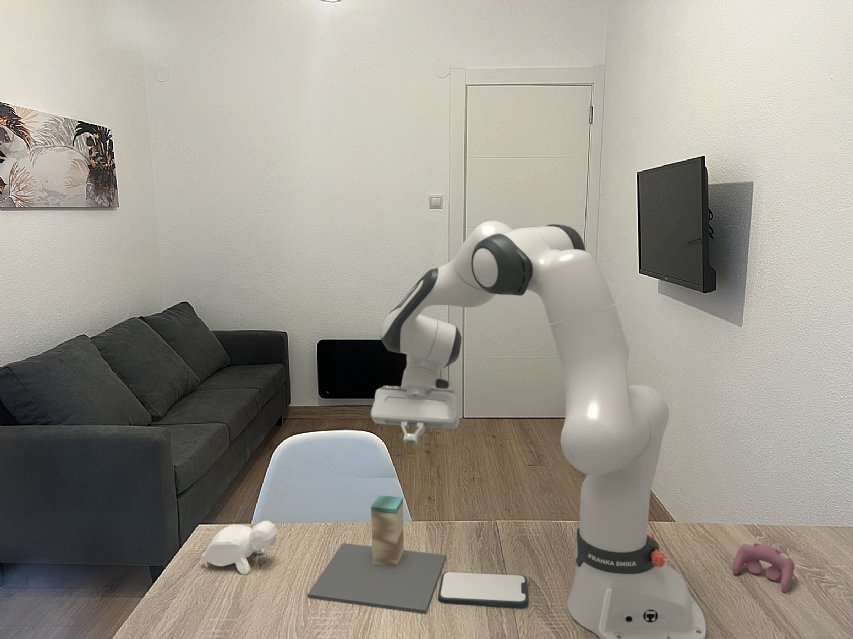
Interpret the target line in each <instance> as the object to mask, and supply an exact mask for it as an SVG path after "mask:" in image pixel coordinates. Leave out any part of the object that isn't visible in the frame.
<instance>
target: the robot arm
mask: <svg viewBox="0 0 853 639" xmlns="http://www.w3.org/2000/svg"><path fill="white" fill-rule="evenodd" d="M527 291H529V292H530V291H531V292H533V293H534V294H535V293H536V294H537V295H538V296H539V298H540V299H541V301H542V303H543V306H544V309H545V312H546V315H547V316H546V317H547V320H548V323H549V326H550V329H551V333H552V336H553V340H554V344H555V346H556V350H557V352H558V355H559V356H558V357H559V360H560V362H561V368H562V374H563V382H564V396H565V397H564V398H565V419H564V423H563V427H562V430H561V434H560V446H561V450H562V453H563V455H564V457H565V459H566V460H567V461H568V463H569V464H570V465H571V467H573V468H574V469H575V470H577V471H578V472H580V473H582V474H585V475H586V476H585V478H584V480H583V482H582V484H581V487H580V505H579V506H580V508H579V527H577V530H576V536H575V547H574V548H575V550H574V551H575V552H574V553H575V554H574V558H575V564H576V569H575V574H574V578H573V581H572V582H573V583H572V587H571V589H570V593H569V595H568V598H567V601H566V604H567V605H566V607H567V611H568V612H569V614H570V616H571V617H572V618H573V619H574V620H575V621H576V622H577V623H578V624H579V625H581V626H582V627H584V628H585V629H587V630H589V631H591V632H592V633H594V634H595V635H597V636H598V637H599V639H706V638H707V637H706V636H707V627H706V626H707V625H706V620H705V616H704V614H703V611H702V609H701V607H700V606H699V604H698V603H697V601H696V600H695V599H694V598H693V597H692V596H691V593H690V590H689V587H688V585H687V584H686V581H685V579H684V578H683V576H682V575H681V573H679V572H678V571H677V570H676V569H674V568H673V567H671V566H670V565H669V564H668V563H666V560H665V558H664V556H665V555H664V553H663V552H662V551H661V550H660V546H659V545H660V544H659V543H658V542H657V540H656V538H655V536H654V534H653V533H651V536H649V535H648V527H649V513H650V512H649V511H650V510H649V509H650V499H651V493H652V488H653V487H652V486H653V483H654V479H655V474H656V471H657V466H658V462H659V457H660V453H661V447H662V442H663V437H664V434H665V431H666V428H667V425H668V423H669V419H670V411H669V407H668V403H667V402H666V401H667V400H665V398H664V396H662V394H661V393H659V391H657V390H656V389H654V388H652V387H650V386H648V385H643V384H632V385H629V383H628V361H629V360H628V359H629V355H630V354H629V353H630V350H629V344H628V341H627V339H626V335H625V332H624V329H623V326H622V323H621V320H620V316H619V314H618V311H617V308H616V305H615V301H614V298H613V296H612V293H611V291H610V289H609V286H608V284H607V281H606V279H605V277H604V274H603V273H602V270H601V269H600V267H599V266H598V263H597V261H596V260H595V258H594V256H592V255H591V254H590V252H588V251H586V247H585V243H584V241H583V239H582V236H581V235H580V234H579V232H578V231H577V230H576V229H574V228H573V227H571V226H568V225H565V224H554V223H553V224H547V225H543V226H533V227H531V226H530V227H519V228H516V229H513V228H512V227H510V226H509V225H507V224H506V223H504V222H502V221H498V220H488V221H484V222H482V223H480V224H478V225H477V226H476V227H475V228H474V229H473V230H472V232H471V233H470V234H469V235H468V236H467V237H466V239H465V240H464V241H463V242H462V244H461V246H460V247H459V249H458V250H457V252H456V254H455V256H454V257H453V258H452V260H450V261H448V262H447V263H446V264H444V265H441V266H439V267H436V268H431V269H429V270H428V271H427V272H425V273H424V274H423V276H421V278H420V279H419V280H418V281H417V282H416V283H415V284H414V286H413V287H412V288H411V289H410V290H409V291H408V293H407V294H406V295H405V296H404V298H402V300H401V301H400V302H399V304H398V305H397V306H396V307H394V308H393V309H392V310H391V311H390V312H389V313H388V314H387V316H386V317H385V319H384V320H383V323H382V325H381V328H380V335H379V336H380V340H381V342H382V344H383V345H384V347H385V349H386V350H387V351H389V352H392V353H398V354H405V355H406V367H405V369H404V370H403V375H402V379H401V385H400V386H399V385H398V386H397V385H383V386H382V387H379V388H378V389H376V390H375V394H374V402H373V405H372V407H371V410H370V417H371V419H372V420H373V422H374V423H375V424H377V425H378V424H379V425H390V426H391V425H393V426H401V430H402V431H403V434H404V435H403V440H402V441H403V444H411V445H412V444H413V445H418V442H419V438H420V437H421V436H422V434H423V433H424V432H425V428H432V429H433V428H434V429H437V428H438V429H447V430H448V429H449V430H455V429H457V427H458V426H459V424H460V406H459V402H458V391H457V388H456V385H455V383H454V382H452V381H451V380H448V379H445V378H442V377H441V370H442V369H446V368H447V367H449V366H451V365H452V364H454V363H455V362H456V361H457V359H458V357H459V356H460V352H461V345H462V339H463V338H462V334H461V332H460V330H459V328H458V327H457V326H456V325H454V324H452V323H448V322H446V321H442V320H440V319H435V318H433V317H429V316H426V315H423V314H421V313H422V312H424V311H425V309H427V308H428V307H430V306H431V307H432V306H451V307H453V306H454V307H460V308H477V307H480V306H482V305H483V306H484V305H485V304H487V303H488V302H490V301H491V300H492V299H493V298H494V297H495V296H496V295H503V296H504V295H505V296H507V295H508V296H518V297H522V296H523V295H524V294H525V293H526V292H527ZM410 427H416V428H417V429H416V430H415V432H414V433H411V432H410V433H409V432H407V430H409V428H410Z"/></svg>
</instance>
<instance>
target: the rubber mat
mask: <svg viewBox="0 0 853 639" xmlns="http://www.w3.org/2000/svg"><path fill="white" fill-rule="evenodd" d="M446 559H447V555H446V554H440V553H431V552H424V551H422V552H421V551H415V550H405V549H404V554H403V556H402V558H401V560H400V562H399V564H398V566H389V565H380V564H373V557H372V545H371V546H369V545H365V544H364V545H363V544H355V543H347V542H342V543H341V544H340V546H339V548H338V549H337V550H336V551H335V553H334V555H333V556H332V557H331V560H330V561H329V562H328V563H327V565H326V567H324V570H323V571H322V572H321V574H320V576H319V577H318V578H317V580H316V581H315V582H314V584H313V586H312V587H311V589H310V590H309V592H308V593H307V598H310V599H316V600H317V599H318V600H323V599H324V600H325V601H331V600H332V602H338V601H340V602H339V603H345V602H349V603H348V604H352V603H354V605H362V606H368V607H376V608H382V609H383V608H384V609H391V610H396V609H398V611H404V612H412V613H419V614H427V612H428V609H429V606H430V603H431V601H432V597H433V594H434V593H435V589H436V587H437V584H438V581H439V578H440V577H441V576H440V575H441V574H442V570H443V568H444V565H445V561H446Z"/></svg>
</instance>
